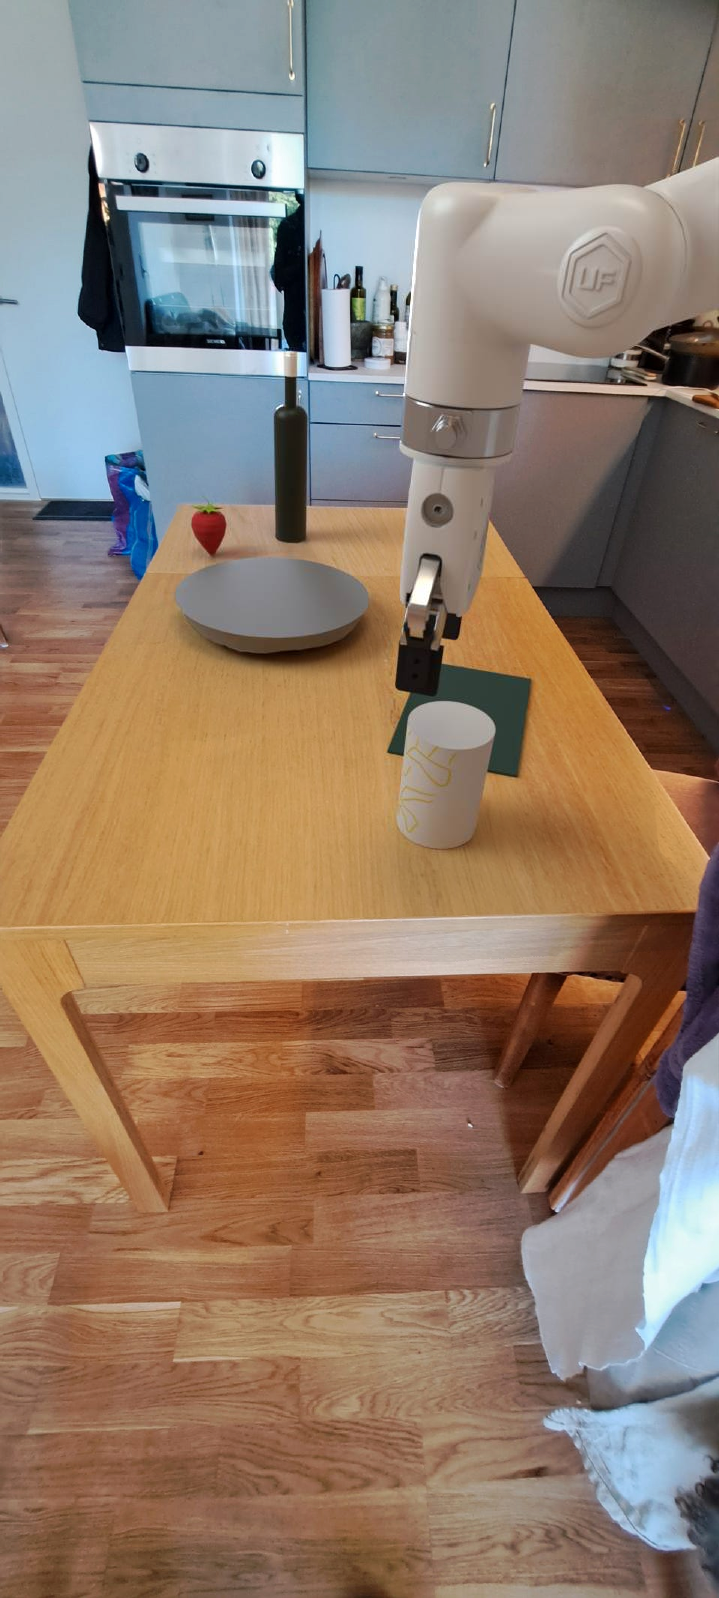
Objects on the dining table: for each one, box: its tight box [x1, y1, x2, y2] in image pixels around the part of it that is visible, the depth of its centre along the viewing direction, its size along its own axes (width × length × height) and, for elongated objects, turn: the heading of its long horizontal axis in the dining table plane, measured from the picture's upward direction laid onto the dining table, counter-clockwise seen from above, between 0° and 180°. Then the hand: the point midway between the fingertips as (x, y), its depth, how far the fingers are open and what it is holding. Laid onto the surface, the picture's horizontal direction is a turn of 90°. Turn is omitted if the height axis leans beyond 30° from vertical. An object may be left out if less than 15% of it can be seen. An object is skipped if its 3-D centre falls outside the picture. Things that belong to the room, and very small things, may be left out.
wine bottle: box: [273, 350, 309, 543], centre depth 128 cm, size 6×6×30 cm
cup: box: [395, 701, 495, 850], centre depth 72 cm, size 8×8×12 cm
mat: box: [386, 663, 532, 778], centre depth 92 cm, size 15×23×1 cm, turn 166°
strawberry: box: [190, 495, 227, 556], centre depth 125 cm, size 6×8×10 cm
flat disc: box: [174, 556, 370, 654], centre depth 108 cm, size 28×28×4 cm
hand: (428, 662), depth 59 cm, fingers open, 9 cm apart
